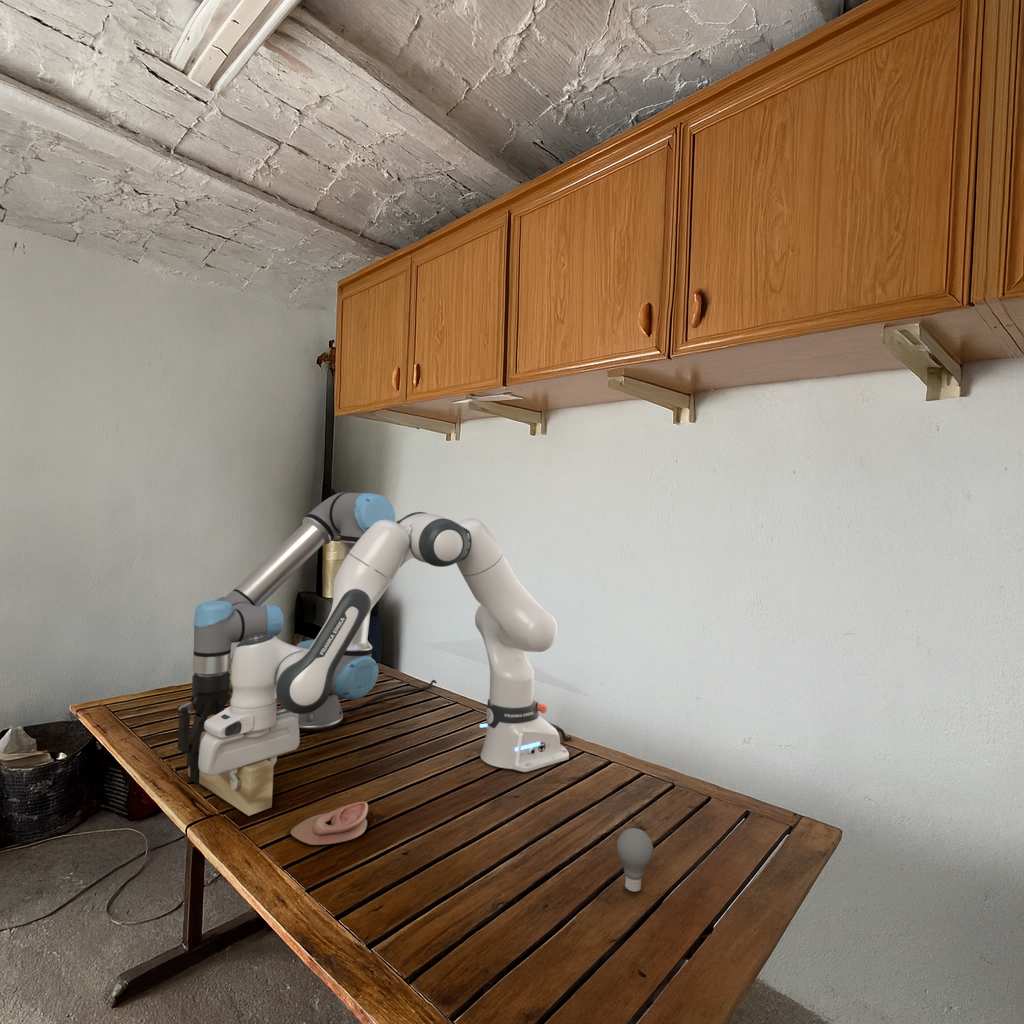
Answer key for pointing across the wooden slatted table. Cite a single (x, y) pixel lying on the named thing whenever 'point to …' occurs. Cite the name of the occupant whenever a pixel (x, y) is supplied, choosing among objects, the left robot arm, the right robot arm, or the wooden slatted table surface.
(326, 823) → the anatomical model
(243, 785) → the birch rail
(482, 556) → the right robot arm
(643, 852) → the light bulb
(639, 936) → the wooden slatted table surface
